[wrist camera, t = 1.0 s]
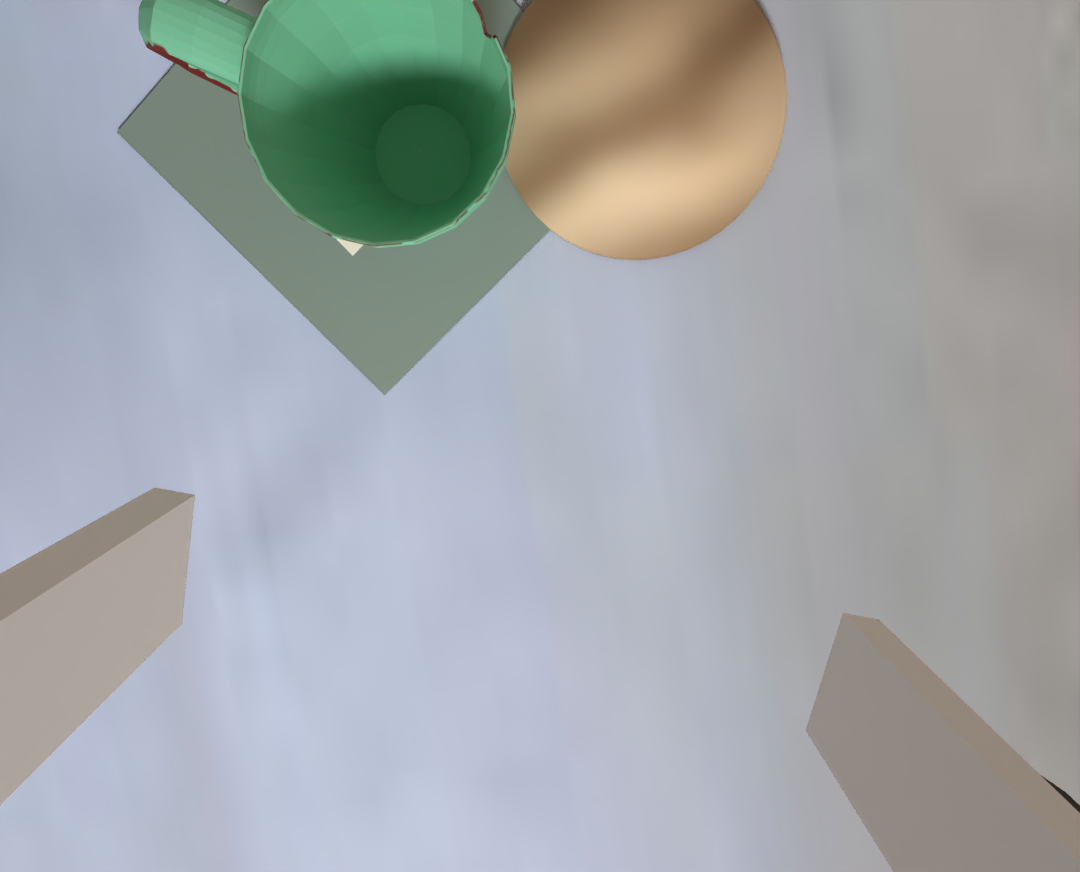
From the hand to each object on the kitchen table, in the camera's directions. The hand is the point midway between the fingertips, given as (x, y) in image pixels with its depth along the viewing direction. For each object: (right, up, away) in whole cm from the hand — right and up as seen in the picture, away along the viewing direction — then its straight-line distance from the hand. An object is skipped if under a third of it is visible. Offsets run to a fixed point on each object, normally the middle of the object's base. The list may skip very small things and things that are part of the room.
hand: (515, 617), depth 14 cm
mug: (-7, +18, +20) cm, 28 cm away
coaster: (+5, +19, +20) cm, 29 cm away
